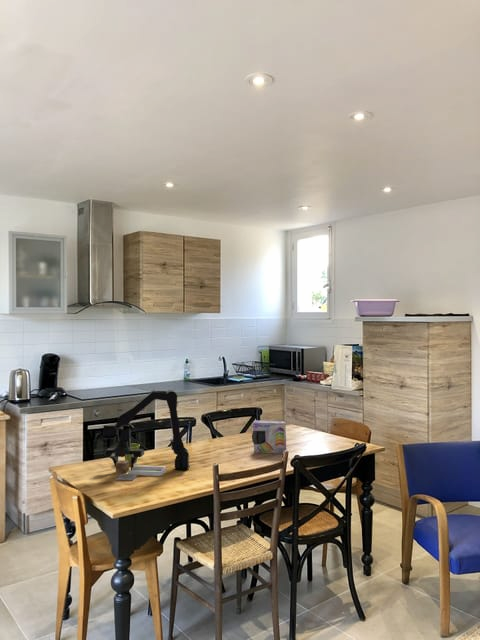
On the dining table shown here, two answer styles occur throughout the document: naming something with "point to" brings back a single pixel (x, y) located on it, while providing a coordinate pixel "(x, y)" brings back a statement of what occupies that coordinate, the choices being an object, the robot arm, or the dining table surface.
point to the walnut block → (122, 467)
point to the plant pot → (133, 447)
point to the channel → (151, 469)
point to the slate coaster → (126, 477)
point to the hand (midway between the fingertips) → (124, 469)
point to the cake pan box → (269, 436)
